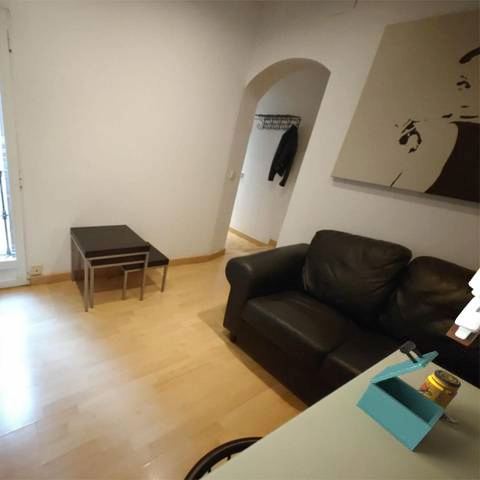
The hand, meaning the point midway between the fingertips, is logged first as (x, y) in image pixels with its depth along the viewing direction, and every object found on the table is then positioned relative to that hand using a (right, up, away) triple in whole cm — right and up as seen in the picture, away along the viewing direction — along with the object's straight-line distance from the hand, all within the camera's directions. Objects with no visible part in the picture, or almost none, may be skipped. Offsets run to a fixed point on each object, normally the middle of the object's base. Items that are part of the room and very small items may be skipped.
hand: (463, 333), depth 66 cm
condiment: (+2, -25, +11) cm, 28 cm away
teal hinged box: (-13, -25, +6) cm, 29 cm away
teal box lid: (-13, -10, +2) cm, 16 cm away
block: (0, -1, +1) cm, 2 cm away
